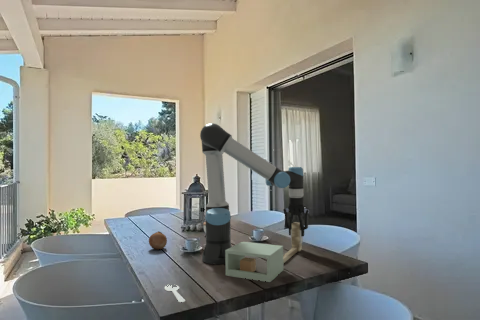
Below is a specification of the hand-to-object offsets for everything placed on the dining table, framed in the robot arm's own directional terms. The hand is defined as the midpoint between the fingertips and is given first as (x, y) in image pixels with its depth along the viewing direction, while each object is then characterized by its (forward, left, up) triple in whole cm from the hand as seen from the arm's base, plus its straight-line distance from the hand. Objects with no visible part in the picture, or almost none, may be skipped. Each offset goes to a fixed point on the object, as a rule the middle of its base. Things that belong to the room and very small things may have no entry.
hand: (296, 242), depth 175 cm
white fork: (-23, -72, -5) cm, 76 cm away
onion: (-68, -27, -4) cm, 73 cm away
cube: (-9, -41, -4) cm, 42 cm away
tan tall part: (-2, -12, -4) cm, 12 cm away
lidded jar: (-59, +14, -4) cm, 61 cm away
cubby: (-6, -41, -4) cm, 42 cm away
